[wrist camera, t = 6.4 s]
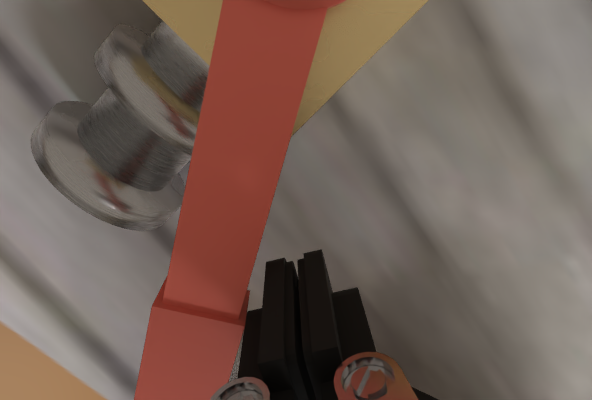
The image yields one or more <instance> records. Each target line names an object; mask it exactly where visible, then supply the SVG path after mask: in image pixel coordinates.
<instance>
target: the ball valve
mask: <svg viewBox="0 0 592 400" xmlns="http://www.w3.org/2000/svg"><path fill="white" fill-rule="evenodd" d="M142 1H143V2H144V3H145V4H146V5H147V6H148V7H150V8H151V9H152V10H153V11H154V12H155V13H156V14H157V15H158V16H159V17H160V18H161V19H162V20H163V21H162V22H161V23H160V24H159V26H158V27H157V28H156V29H155V31H154V32H153V33H152V34H151V35H150V36H149V35H147V34H145V33H143V32H142V31H140V30H138V29H136V28H133V27H131V26H128V25H124V24H118V25H116V27H115V28H114V29H113V30H112V32H111V33H110V34H109V36H108V37H107V38H106V39H105V41H104V42H103V43H102V45H101V46H100V47H99V48H98V50H97V51H96V52H95V54H94V62H95V66H96V68H97V70H98V72H99V74H100V76H101V78H102V79H103V81H104V82H105V83H106V85H107V86H108V88H107V90H106V91H105V92H104V93H103V95H102V96H101V97H100V98H99V100H98V101H97V102H96V103H95V104H94V105H91V104H88V103H83V102H78V101H64V102H60V103H58V104H56V105H55V106H54V107H53V108H52V109H51V110H50V111H49V113H48V114H47V115H46V117H45V118H44V119H43V120H42V122H41V123H40V124H39V126H38V127H37V128H36V129H35V131H34V133H33V134H32V138H31V149H32V153H33V156H34V158H35V161H36V162H37V164H38V166H39V168H40V169H41V171H42V172H43V174H44V175H45V176H46V178H47V179H48V180H49V181H50V182H51V183H52V184H53V186H54V187H55V188H57V189H58V190H59V191H60V192H61V193H62V194H63V195H64V196H65V197H66V198H68V199H69V200H70V201H71V202H73V203H74V204H76V205H77V206H78V207H80V208H81V209H83V210H84V211H86V212H88V213H89V214H91V215H93V216H95V217H97V218H99V219H101V220H103V221H105V222H107V223H110V224H112V225H115V226H118V227H121V228H125V229H130V230H138V231H147V230H153V229H156V228H158V227H160V226H161V225H163V224H164V223H165V222H166V221H167V219H168V218H169V217H170V216H171V215H172V214H173V213H174V212H175V211H176V210H177V209H178V208H179V207H180V206H181V205H182V201H183V196H184V191H185V187H184V183H183V181H182V178H181V176H180V174H179V171H180V170H181V169H182V168H183V167H184V166H185V165H186V164H187V163H188V162H189V161H190V160H191V157H192V152H193V147H194V142H195V137H196V132H197V127H198V122H199V117H200V112H201V107H202V102H203V97H204V92H205V87H206V82H207V77H208V72H209V67H210V62H211V57H212V52H213V47H214V42H215V37H216V32H217V27H218V22H219V17H220V12H221V7H222V2H223V0H142ZM427 1H428V0H346V1H344V2H342V3H340V4H338V5H336V6H334V7H332V8H329V9H327V12H326V16H325V19H324V23H323V26H322V30H321V33H320V37H319V40H318V44H317V47H316V51H315V54H314V58H313V61H312V65H311V68H310V72H309V75H308V79H307V82H306V86H305V89H304V92H303V96H302V99H301V103H300V106H299V110H298V113H297V117H296V120H295V124H294V127H293V131H292V134H291V136H292V135H293V134H294V133H295V132H296V131H297V130H298V129H299V128H300V127H302V126H303V125H304V124H305V123H306V122H307V121H308V120H309V119H310V118H311V117H312V116H313V115H314V114H315V113H316V112H317V111H318V110H319V109H320V108H321V107H322V106H323V105H324V104H325V103H326V102H327V101H328V100H329V99H330V98H331V97H332V96H333V95H334V94H335V93H336V92H337V91H338V90H339V89H340V88H341V87H342V86H343V85H344V84H345V83H346V82H347V81H348V80H349V79H350V78H351V77H352V76H353V75H354V74H355V73H356V72H357V71H358V70H359V69H360V68H361V67H362V66H363V65H364V64H365V63H366V62H367V61H368V60H369V59H370V58H371V57H372V56H373V55H374V54H375V53H376V52H377V51H378V50H379V49H380V48H381V47H382V46H383V45H384V44H385V43H386V42H387V41H388V40H389V39H390V38H391V37H392V36H393V35H394V34H395V33H396V32H397V31H398V30H399V29H400V28H401V27H402V26H403V25H404V24H405V23H406V22H407V21H408V20H409V19H410V18H411V17H412V16H413V15H414V14H415V13H416V12H417V11H418V10H419V9H420V8H421V7H422V6H423V5H424V4H425V3H426V2H427Z"/></svg>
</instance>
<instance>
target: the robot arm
mask: <svg viewBox="0 0 592 400" xmlns="http://www.w3.org/2000/svg"><path fill="white" fill-rule="evenodd" d="M298 279H299V280H298ZM210 400H438V399H436V398H434V397H432V396H430V395H428V394H426V393H423V392H421V391H419V390H417V389H415V388H413V387H411V386H410V384H409V382H408V380H407V379H406V377H405V375H404V373H403V372H402V370H401V368H400V366H399V365H398V364H397V363H396V362H395V360H393V359H392V358H390V357H389V356H387V355H385V354H381V353H378V352H376V349H375V346H374V342H373V339H372V335H371V332H370V328H369V325H368V321H367V318H366V315H365V311H364V308H363V304H362V301H361V297H360V294H359V290H358V287H357V288H353V289H348V290H343V291H339V292H334V293H333V292H332V288H331V284H330V280H329V276H328V272H327V268H326V264H325V260H324V256H323V252H322V249H321V250H317V251H312V252H308V253H304V259H299V260H298V276H297V273H296V269H295V266H294V263H293V261H290V262H286V259H285V258H281V259H277V260H273V261H268V262H266V270H265V282H264V294H263V305H262V308H261V309H256V310H252V311H248V312H247V315H246V321H245V328H244V336H243V343H242V350H241V357H240V364H239V371H238V379H234V380H232V381H230V382H228V383H226V384H225V385H223V386H222V387H221V388H219V389H218V390H217V391H216V392H215V393H214V395H213V396H212V397H211V398H210Z"/></svg>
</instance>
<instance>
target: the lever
mask: <svg viewBox="0 0 592 400" xmlns="http://www.w3.org/2000/svg"><path fill="white" fill-rule="evenodd" d="M344 1H346V0H223V2H222V7H221V12H220V17H219V22H218V27H217V32H216V37H215V42H214V47H213V52H212V57H211V62H210V67H209V72H208V77H207V82H206V87H205V92H204V97H203V102H202V107H201V112H200V117H199V122H198V127H197V132H196V137H195V142H194V147H193V152H192V157H191V162H190V167H189V172H188V177H187V182H186V187H185V191H184V196H183V201H182V206H181V211H180V216H179V221H178V226H177V231H176V236H175V241H174V246H173V251H172V256H171V261H170V266H169V271H168V275H167V277H166V279H165V281H164V283H163V285H162V287H161V289H160V291H159V293H158V295H157V297H156V299H155V301H154V303H153V305H152V308H151V313H150V319H149V324H148V329H147V334H146V340H145V345H144V350H143V355H142V361H141V366H140V371H139V376H138V382H137V387H136V392H135V397H134V400H210V398H211V397H212V396H213V395H214V393H215V392H216V391H217V390H218V389H219V388H221V387H222V386H223V385H225V384H226V383H228V381H229V378H230V375H231V371H232V368H233V365H234V361H235V358H236V354H237V351H238V348H239V344H240V341H241V338H242V334H243V331H244V328H245V321H246V315H247V308H248V301H249V294H250V291H249V290H247V287H248V284H249V280H250V277H251V273H252V270H253V266H254V263H255V259H256V256H257V252H258V249H259V246H260V242H261V239H262V235H263V232H264V228H265V225H266V221H267V218H268V214H269V211H270V207H271V204H272V200H273V197H274V193H275V190H276V186H277V183H278V179H279V176H280V172H281V169H282V166H283V162H284V159H285V155H286V152H287V148H288V145H289V141H290V138H291V134H292V131H293V127H294V124H295V120H296V117H297V113H298V110H299V106H300V103H301V99H302V96H303V92H304V89H305V86H306V82H307V79H308V75H309V72H310V68H311V65H312V61H313V58H314V54H315V51H316V47H317V44H318V40H319V37H320V33H321V30H322V26H323V23H324V19H325V16H326V12H327V9H329V8H332V7H334V6H336V5H338V4H340V3H342V2H344Z"/></svg>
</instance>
